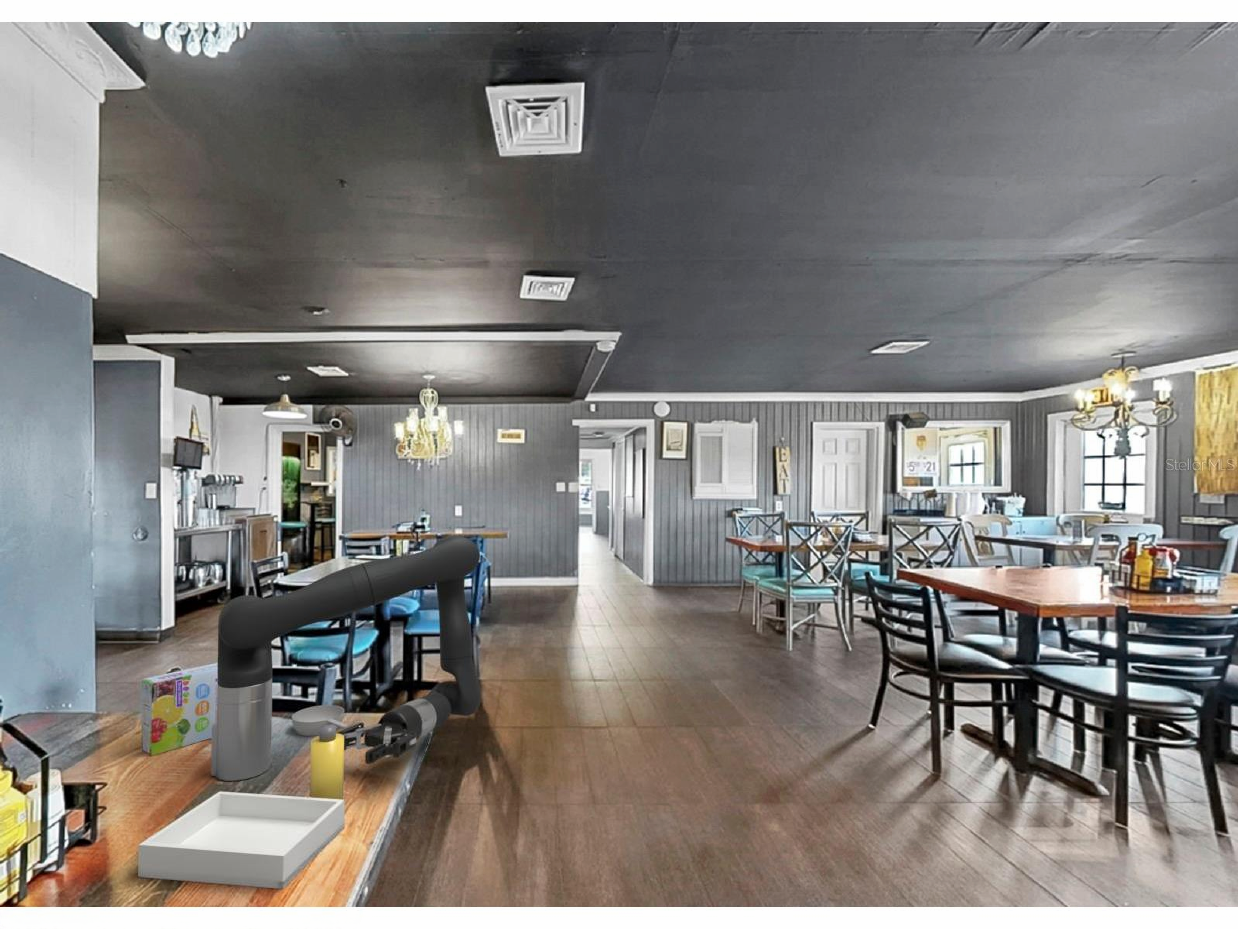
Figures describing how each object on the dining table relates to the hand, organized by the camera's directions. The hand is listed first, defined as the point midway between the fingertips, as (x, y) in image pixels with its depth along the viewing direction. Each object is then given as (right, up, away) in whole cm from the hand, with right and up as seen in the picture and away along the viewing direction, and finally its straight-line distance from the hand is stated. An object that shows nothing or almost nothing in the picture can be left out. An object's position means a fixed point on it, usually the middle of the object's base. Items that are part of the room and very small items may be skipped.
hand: (347, 754), depth 117 cm
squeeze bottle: (-2, -7, -5) cm, 9 cm away
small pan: (-17, -8, +29) cm, 35 cm away
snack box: (-43, -8, +26) cm, 51 cm away
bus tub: (-8, -7, -17) cm, 20 cm away
